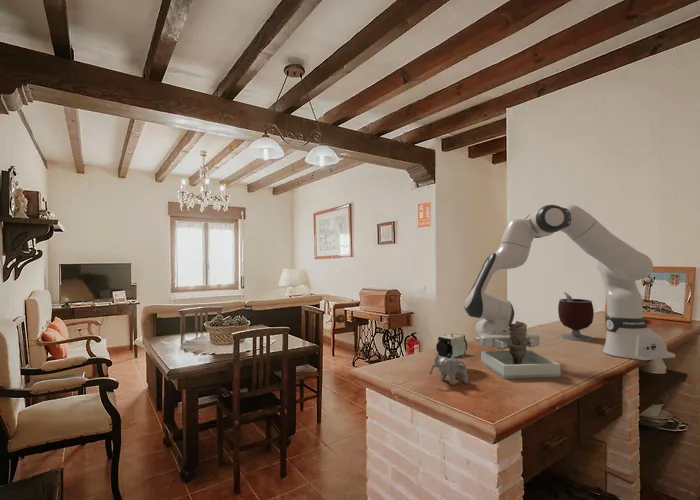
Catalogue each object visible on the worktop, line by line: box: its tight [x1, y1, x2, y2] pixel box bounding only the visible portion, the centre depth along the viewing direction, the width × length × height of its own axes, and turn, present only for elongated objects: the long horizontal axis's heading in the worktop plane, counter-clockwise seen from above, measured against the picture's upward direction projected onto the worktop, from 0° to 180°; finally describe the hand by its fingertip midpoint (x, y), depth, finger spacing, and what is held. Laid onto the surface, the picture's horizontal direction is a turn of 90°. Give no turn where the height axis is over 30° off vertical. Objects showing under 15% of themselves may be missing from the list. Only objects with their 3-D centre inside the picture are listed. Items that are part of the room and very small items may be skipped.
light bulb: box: [508, 320, 528, 365], centre depth 128 cm, size 6×6×15 cm
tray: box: [480, 349, 562, 380], centre depth 128 cm, size 18×18×4 cm
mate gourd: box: [557, 291, 595, 342], centre depth 175 cm, size 16×14×20 cm
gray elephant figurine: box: [428, 355, 470, 386], centre depth 115 cm, size 9×12×8 cm
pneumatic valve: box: [435, 332, 468, 360], centre depth 130 cm, size 6×12×12 cm, turn 130°
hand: (519, 345), depth 127 cm, fingers open, 8 cm apart
